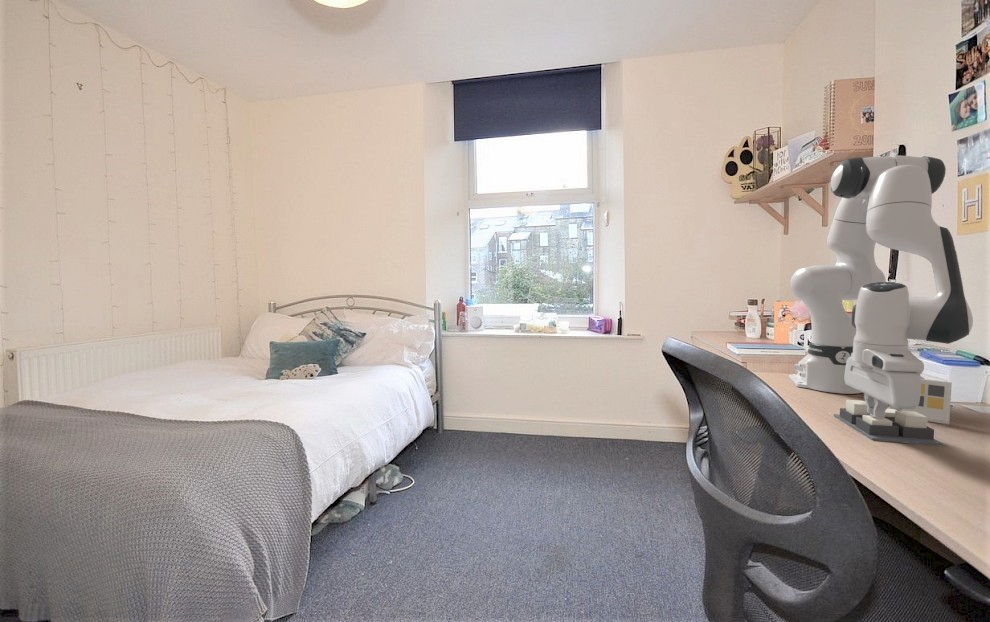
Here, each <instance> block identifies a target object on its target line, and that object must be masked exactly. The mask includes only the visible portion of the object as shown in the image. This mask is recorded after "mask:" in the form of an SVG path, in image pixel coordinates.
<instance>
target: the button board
mask: <svg viewBox="0 0 990 622" xmlns="http://www.w3.org/2000/svg"><path fill="white" fill-rule="evenodd" d="M833 417H834V418H836V419H838V420H840V422H842V423H844V424H846V425H847V426H849V427H851V428H852V429H854V430H856V431H857V432H858V433H860V434H861V435H863V436H865V437H866V438H868V439H869V440H871V441H878V442H879V441H880V442H891V443H892V442H893V443H903V444H917V445H929V446H931V445H932V446H944V443H943V442H941V441H939V440H937V439H935V438H934V436H935V428H932V427H930V426H928V425H927V429H926V428H912V427H904V426H902V425H900V424H898V423H896V422H895V417H884V418H886V419H888V420H890V421H892V426H884V425H871V424H869V423H867V422H865V421H864V420H862V417H863V415H854V414H851V413H850V412H848V411H846V407H840V408H839V414H837V413H834V414H833Z"/></svg>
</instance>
